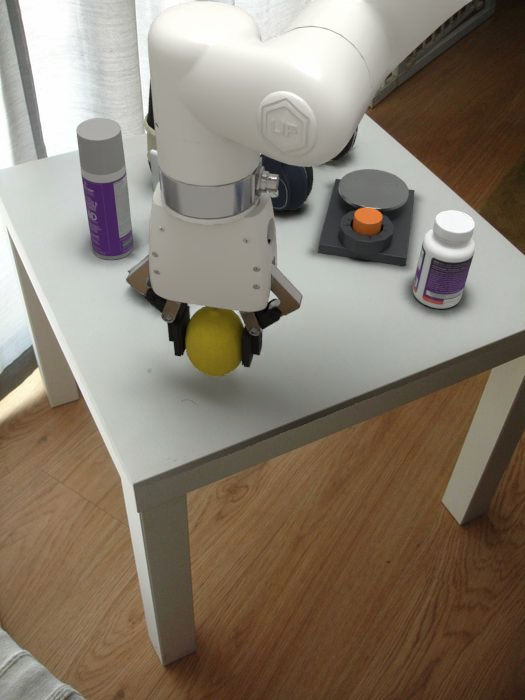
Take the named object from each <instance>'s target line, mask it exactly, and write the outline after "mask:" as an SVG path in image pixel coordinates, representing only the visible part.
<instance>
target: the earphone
mask: <svg viewBox="0 0 525 700" xmlns="http://www.w3.org/2000/svg"><path fill="white" fill-rule="evenodd" d="M358 130H359V126H358V127H357V128H356V130H355V132H354V134H353V135H352V137H351V139H350V140H349V142H348V144H347V145H346V146H345V147H344V149H343V150H342V151H341V152H340V153H339V154H338V155H337V156H336V157H334V158H333V159H331V160H330V161H329V162H335V161H339V160H341V159H342V158H344V157H345V156H346V155H348V154H349V153H350V152H351V151H352V149H353V148H354V145H355V143H356V139H357V137H358V132H359V131H358ZM260 157H262V166H264V169H265V171H269V173H270V174H278V175H279V185H278V190H277V192H269V193H270V197H271V201H272V206H273V211H277V212H279V211H281V212H282V211H285V210H286V211H296V210H298V209H300V208H301V207H302V206H303V205H304V203H305V202H306V201H307V199H308V198H309V197H310V194H311V192H312V191H313V188H314V187H313V186H314V166H310V167H301V166H295V165H289V164H286V163H283V162H280V161H277V160H275V159H272V158H270V157H267V156H265V155H263V154H261V153H260Z"/></svg>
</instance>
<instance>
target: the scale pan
mask: <svg viewBox="0 0 525 700" xmlns="http://www.w3.org/2000/svg"><path fill="white" fill-rule="evenodd" d="M340 179H341V180H340V183H339V193H340V195H341V197H342V198H343V199H344V200H345V201H346V202H347V203H349V204H350V205H352V206H354V207H356V208H359V209H360V208H365V207H368V208H373V209H376V210H378V211H379V212H385V211H391V210H394V209H397V208H399V207H401V206H402V205H403V204H405V202H406V201H407V199H408V195H409V190H408V189H409V187H408V185H407V183H406V182H405V181H404V180H403V179H402V178H400V177H399V176H397V175H395V174H393V173H391V172H389V171H385V170H380V169H374V168H364V169H357V170H353V171H350V172H348V173H346V174H345V175H344V176H342V178H340Z"/></svg>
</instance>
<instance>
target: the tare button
mask: <svg viewBox="0 0 525 700" xmlns="http://www.w3.org/2000/svg"><path fill="white" fill-rule="evenodd" d="M382 218H383V217H382V214H381V213H380V212H379V211H378V210H376V209H373V208H368V207H365V208H360V209H358V210H356V212H355V214H354V220H353V229H354V231H355V232H357V233H359V234H362V235H368V236H371V235H376V234H378V233H379V232H380V229H381V224H382Z"/></svg>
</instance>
